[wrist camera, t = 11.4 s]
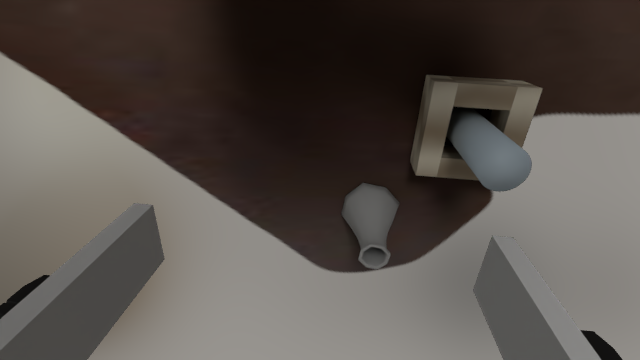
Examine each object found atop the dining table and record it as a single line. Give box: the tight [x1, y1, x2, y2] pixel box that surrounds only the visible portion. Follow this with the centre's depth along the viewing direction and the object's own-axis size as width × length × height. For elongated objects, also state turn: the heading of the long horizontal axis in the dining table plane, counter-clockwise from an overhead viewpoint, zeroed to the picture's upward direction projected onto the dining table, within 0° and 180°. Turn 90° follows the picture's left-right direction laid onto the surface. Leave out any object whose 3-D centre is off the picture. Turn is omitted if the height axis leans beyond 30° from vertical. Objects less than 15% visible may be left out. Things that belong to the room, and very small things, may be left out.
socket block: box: [410, 75, 543, 180], centre depth 35 cm, size 10×10×4 cm
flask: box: [341, 183, 399, 270], centre depth 38 cm, size 7×7×10 cm
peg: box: [446, 107, 532, 191], centre depth 32 cm, size 4×4×12 cm
